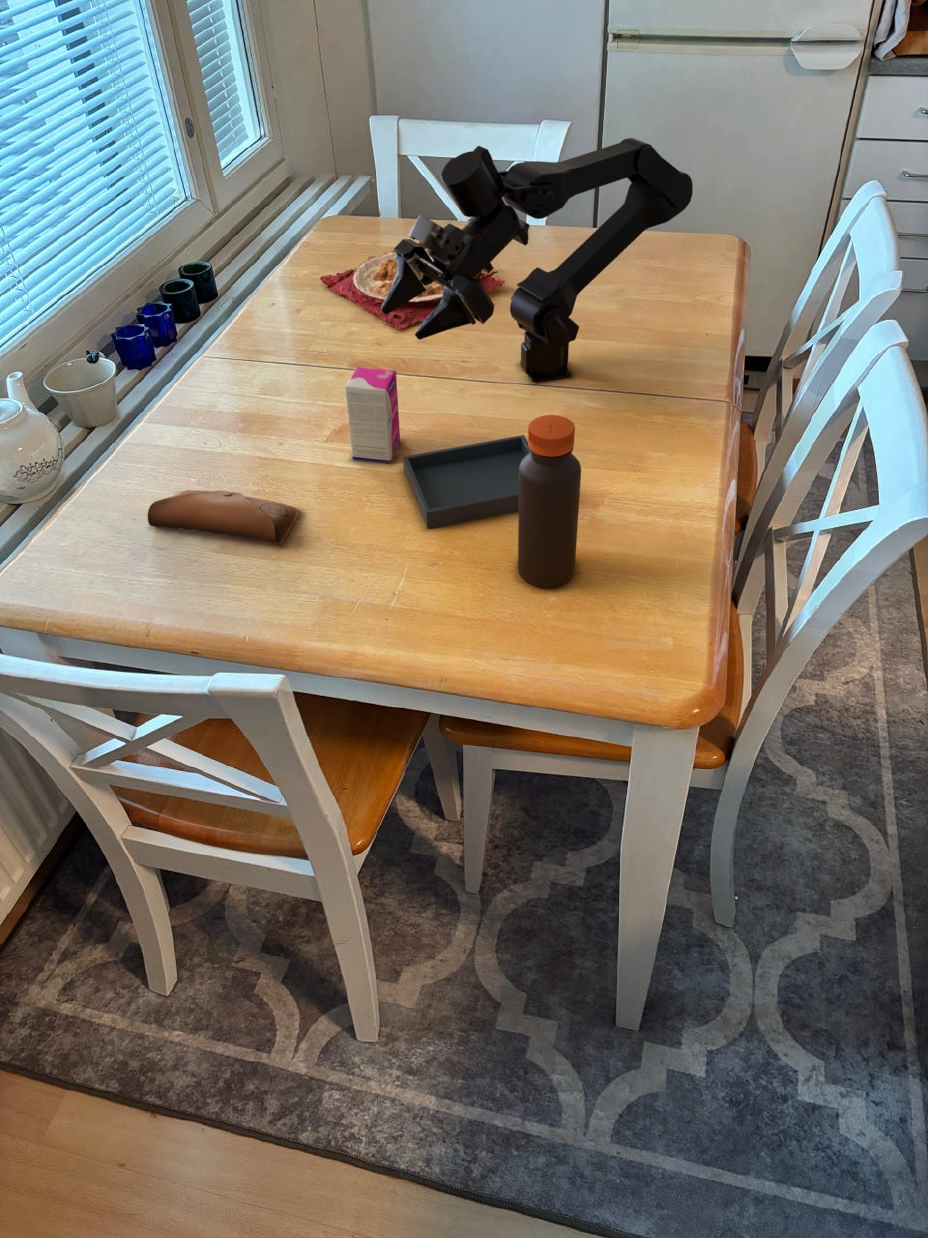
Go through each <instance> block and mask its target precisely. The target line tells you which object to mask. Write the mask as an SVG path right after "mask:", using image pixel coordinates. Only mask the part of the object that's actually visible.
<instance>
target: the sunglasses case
mask: <svg viewBox="0 0 928 1238" xmlns="http://www.w3.org/2000/svg"><path fill="white" fill-rule="evenodd" d="M300 514H301V511H300V509H299V508H296V507H294V506H292V505H290V504H286V503H281V502H277V501H274V500H268V499H265V498H264V499H263V498H258V497H251V496H246V495H244V494H243V493H241V492H234V491H230V490H198V489H186V490H183V491H180V492H179V493H178V494H175V495H174V496H170V497H165V498H162V499H159V500H155V501H154V502H152V503H151V504H150V505H149V506H148V510H147V517H146V518H147V522H148V525H149V526H151V527H153V528H155V527H156V528H164V529H175V530H180V529H181V530H185V531H186V530H187V531H198V532H205V533H209V534H217V535H227V536H231V537H238V538H243V539H244V538H245V539H251V540H257V541H263V542H268V543H277V544H280V545H283V544H284V543H285V541H286V540H287V538H288V537H289V536H290V533H292V531H293V528H294V527H295V524H296V522H297V521H298V519H299V517H300Z"/></svg>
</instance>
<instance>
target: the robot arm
mask: <svg viewBox="0 0 928 1238" xmlns="http://www.w3.org/2000/svg"><path fill="white" fill-rule="evenodd" d="M440 177H441V181H442V183H443V184H444V186H445V189H447V191H448V193H449V195H450V196H451V198H452V199H453V201H454V203H455V205H456V206H457V207H458V209H459V211H460V213H461V214H462V215H463V216H464V217H466V218H471V219H470V220H469V222H467V224H466V225H464V227H463V228H462V229H461V228H460V227H458V226H456V225H453V224H452V223H448V224H447V225H445V226H444V227H442V226H441V225H439V224H437V223H436V222H434V221H433V220H431V219H429V218H427V217H426V216H424V215H422V214H419V215H418V217H417V219H416V221H415V222H414V223H413V224H414V225H413V226H412V228H411V229H410V232H409V233H408V237H409V238H402V239H401V240H400V241H399V243H398V244H396V246H394V247H393V251H395V253H396V255H395V260H396V261H397V275H396V277H395V280H394V282H393V284H392V287H391V289H390V291H389V293H388V295H387V297H386V299H385V301H384V303H383V305H382V307H381V311H382V312H383V313H384V314H385V315H386V314H388V313H390V312H392V311H394V310H396V309H397V308H399V307H401V306H402V305H404V304H405V303H407V302H408V301H410V300H412V299H413V298H415V297H416V296H418V295H420V294H421V293H423V292H424V291H426V289H425V287H424V286H426V285H429V284H432V283H433V282H434V281H435V282H436V283H438V284H440V285H441V286H443V287H444V290H443V294H442V299H441V302H440V303H439V304H438V306H437V307H436V308H435V309H434V310H433V311H432V313H431V314H430V315H429V316H428V317H427V318H426V319H425V320H424V321H422V322H421V324H420V325H419V327H417V329H416V330H415V332H414V336H415V338H416V339H417V340H423V339H426V338H429V337H431V336H435V335H438V334H440V333H443V332H446V331H449V330H453V329H456V328H460V327H463V326H466V325H472V326H474V325H476V324H477V322H478V323H480V324H482V325H484V324H485V323H486V322H487V321H488V320H489V319H490V318H491V317H492V316H493V315H494V310H495V304H494V302H493V300H492V299H491V297H490V295H489V294H488V292H486V291H485V289H484V287H483V286H482V284H481V283H480V282H479V281H478V280H476V279H475V278H476V277H477V276H478V275H479V274H480V273H483V271H484V272H486V274H490V273H491V272H492V271H494V269H495V267H494V266H493V264H492V261H494V259H495V258H496V257H498V255H499V254H501V252H503V251H504V249H505V248H506V247H507V246H508V245H509V244H510V243H511V242H512V241H513V240H514V241H515V242H517V243H519V244H521V245H523V246H527V245H528V244H529V238H530V237H529V229H530V223H528V222H526V221H524V220H522V219H520V217H519V216H518V214H517V211H519V212H521V213H522V214H525V215H527V216H529V217H530V218H533V219H535V220H540V219H541V220H542V219H545V218H547V217H549V216H550V215H553V214H554V213H556V212H558V211H559V210H561V209H563V208H564V207H565V206H566V204H567V203H568V201H569V200H570V199H571V198H574V197H575V196H578V195H580V194H583V193H585V192H588V191H592V190H595V189H597V188H600V187H603V186H606V185H607V186H608V185H609V184H612V183H615V182H618V181H621V180H624V179H627V180H628V181H629V182H630V184H629V186H628V188H627V193H626V196H625V199H624V202H623V204H622V205H621V206H620V207H619V208H618V209H616V211H615V212H614V213H613V214H611V216H610V217H609V218H608V219H606V220H605V221H604V222H603V223H602V224H601V225H600V226H599V227H598V228H597V229H596V230H595V231H594V232H593V233H592V234H591V235H590V236H589V237H587V238H586V240H584V241H583V242H582V243H581V244H580V245H579V246H578V247H577V248H576V249H575V250H574V251H573V252H572V253H571V254H570V255H569V256H568V257H566V258H565V259H564V261H563V262H562V263H560V264H559V265H558V266H557V267H556V268H555V269H553V270H549V271H546V270H544V269H542V268H540V267H538V266H537V267H536V268H534V269H532V271H531V272H529V274H528V275H527V276H526V278H525V279H523V280H522V281H520V282H518V283H517V284H516V286H517V289H516V290H515V291H513V293H512V295H511V296H510V300H511V301H510V305H509V312H510V316H511V318H512V319H513V320H514V321H516V323H517V326H518V328H519V329H520V330H523V331H524V340H523V341H524V342H521V344H520V362H519V363H520V367H521V370H522V371H523V372H524V373H525V374H526V375H527V376H528V378H529V379H530V381H531V382H532V383H539V382H540V383H541V382H545V381H552V380H558V379H563V378H569V377H571V376H572V374H573V373H572V371H571V370H570V368H569V354H570V353H569V352H570V351H569V350H570V342H574V341H576V339H577V336H578V332H579V331H580V326H579V324H578V323H576V322H575V321H574V320H573V319H572V318H570V317H571V315H572V314H573V311H574V308H575V305H576V301H577V297H578V295H580V293H581V292H582V291H584V289H585V288H586V287H588V285H590V284H591V283H592V281H594V280H595V279H596V278H597V277H598V276H599V275H600V274H601V273H602V272H603V271H604V270H605V269H606V268H607V267H608V266H609V265H610V264H611V263H612V262H613V261H615V260H616V259H617V258H618V257H619V256H620V255H621V254H622V253H623V252H624V251H625V250H626V249H627V248H628V247H629V246H630V245H631V244H633V242H635V241H636V240H637V238H639V236H641V235H642V234H643V233H644V232H645V231H646V230H648V229H650V228H654V227H658V226H660V225H662V224H666V223H668V222H670V221H671V220H672V219H674V218H676V217H677V216H678V215H679V214H681V213H682V212H684V211H685V210H686V209H687V207H688V206H689V205H690V203H691V201H692V198H693V191H694V190H693V188H694V183H693V180H692V178H691V176H690V175H689V174H688V173H686V172H683V171H681V170H679V169H678V168H676V167H675V166H674V165H672V163H670V162H669V161H668V160H666V159H665V158H664V157H663V156H661V155H660V154H659V152H658V151H657V150H656V149H655V148H654V147H653V145H652V144H650V143H648V142H645V141H643V140H639V139H636V138H634V137H628V138H624V139H623V140H621V141H620V142H618V143H615V144H612V145H608V146H606V147H603V148H599V149H596V150H592V151H590V152H586V153H584V154H581V155H578V156H573V157H571V158H568V159H564V160H562V161H542V160H541V161H540V160H539V161H538V160H536V161H524V162H523V161H522V162H518V163H516V164H513V165H511V166H510V168H508V170H501V171H499V170H498V169H497V167H496V165H495V163H494V161H493V156H492V155H491V153H490V151H489V149H488V148H486V147H483V146H481V145H477V146H476V147H474V149H473V150H471V151H466V152H463V153H461V154H459V155H457V156H456V157H452V158H450V159H449V161H447V163H446V164H445V166H444V167H443V169H442V171H441V175H440ZM516 210H517V211H516ZM417 241H418V242H417ZM418 243H420V244H422V245H423V246H425V247H427V248H428V249H427V250H426V251H427V252H428V254H429V255H430V257H432V258H433V260H434V261H432V260H431V258H430V257H429V255H428V254H427V252H426V251H425V249H424V248H423V247H422V246H421V245H419V244H418ZM439 275H441V276H439ZM423 285H424V286H423Z"/></svg>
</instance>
